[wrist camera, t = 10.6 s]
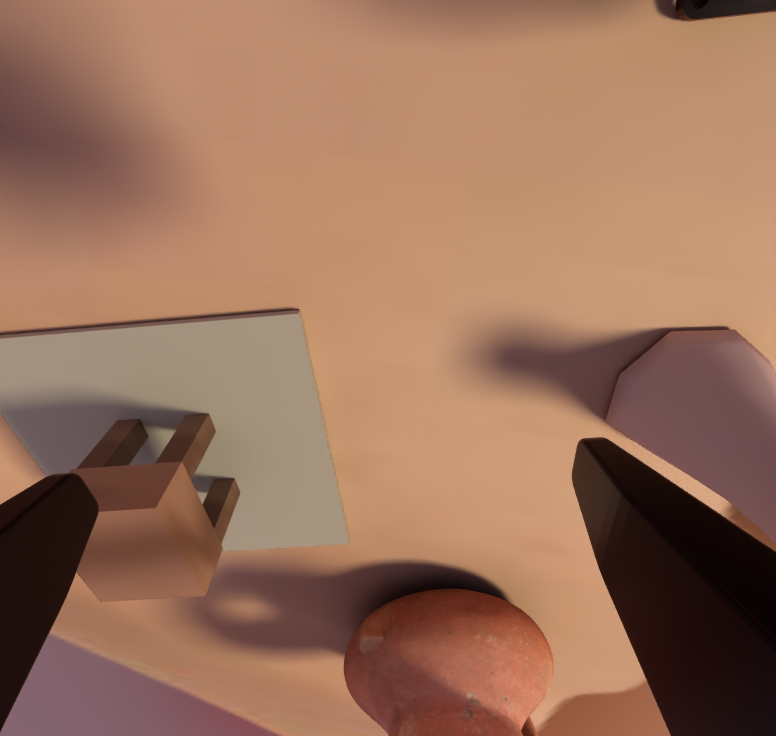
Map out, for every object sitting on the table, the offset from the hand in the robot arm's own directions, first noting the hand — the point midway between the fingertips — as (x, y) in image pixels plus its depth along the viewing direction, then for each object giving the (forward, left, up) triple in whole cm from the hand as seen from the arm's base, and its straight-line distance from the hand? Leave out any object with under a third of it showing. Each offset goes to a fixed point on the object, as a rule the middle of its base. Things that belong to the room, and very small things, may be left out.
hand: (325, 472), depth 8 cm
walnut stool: (+11, +10, -12) cm, 19 cm away
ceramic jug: (-3, +29, -12) cm, 32 cm away
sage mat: (+11, +10, -12) cm, 19 cm away
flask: (-15, +8, -12) cm, 21 cm away
